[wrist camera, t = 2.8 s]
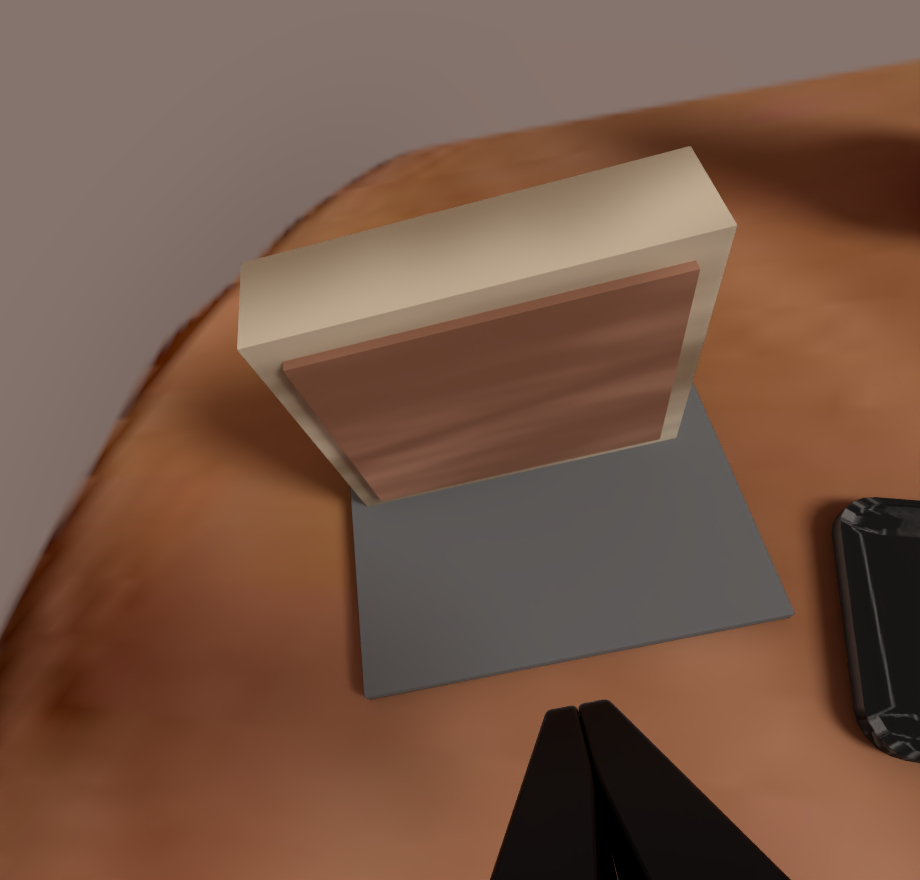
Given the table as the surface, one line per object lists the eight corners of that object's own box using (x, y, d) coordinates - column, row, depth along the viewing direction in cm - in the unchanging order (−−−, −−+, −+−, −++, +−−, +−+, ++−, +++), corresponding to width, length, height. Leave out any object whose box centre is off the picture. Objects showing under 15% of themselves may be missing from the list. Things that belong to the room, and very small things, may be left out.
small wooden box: (679, 444, 22) (742, 234, 13) (367, 513, 23) (236, 359, 14) (650, 373, 23) (690, 145, 15) (361, 440, 24) (241, 263, 16)
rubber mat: (789, 617, 19) (794, 613, 18) (370, 699, 20) (364, 697, 19) (600, 184, 30) (601, 174, 29) (338, 252, 31) (334, 244, 31)
